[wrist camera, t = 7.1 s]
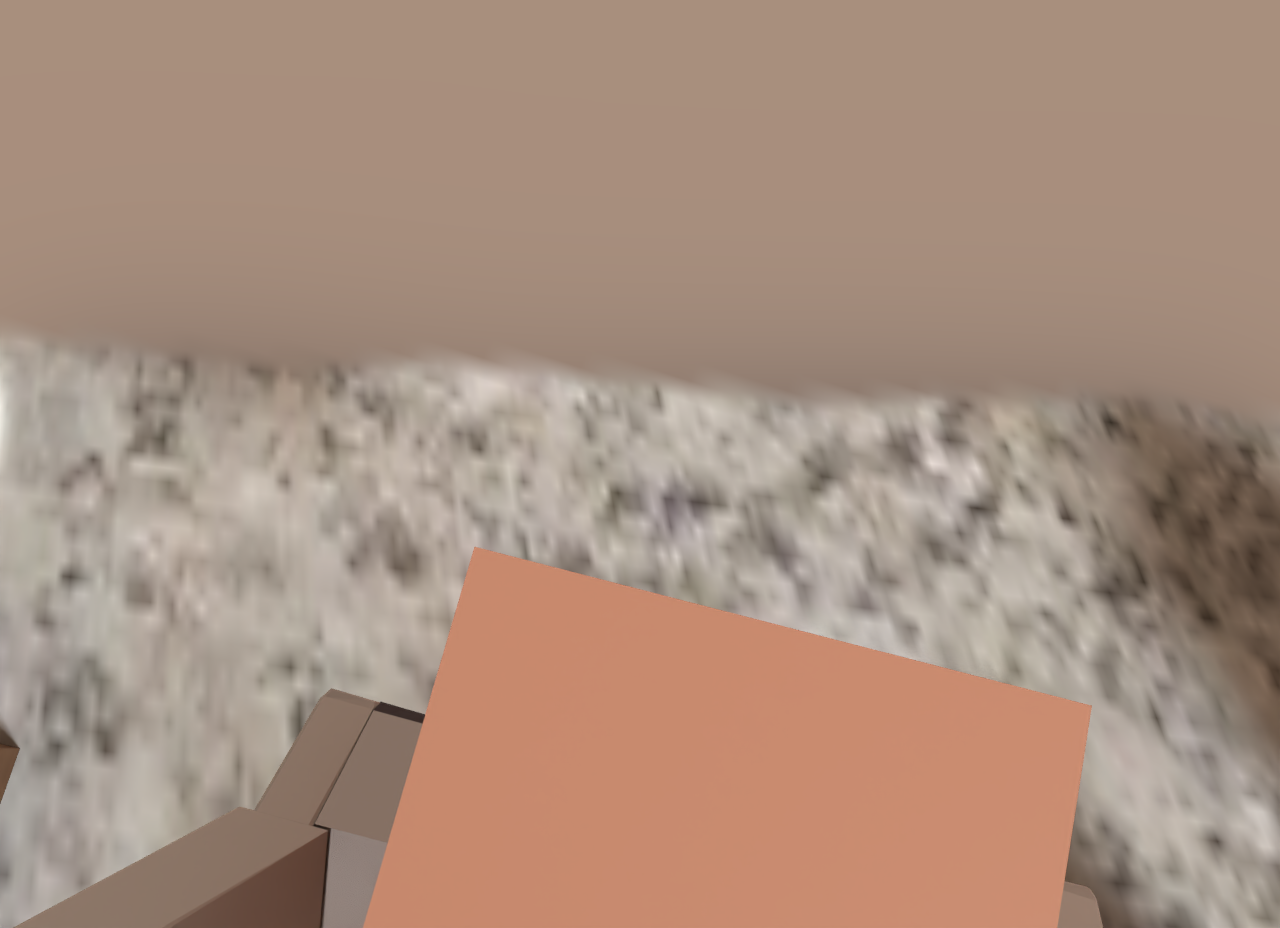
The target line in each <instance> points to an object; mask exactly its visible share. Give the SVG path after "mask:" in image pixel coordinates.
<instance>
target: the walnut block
mask: <svg viewBox="0 0 1280 928" xmlns="http://www.w3.org/2000/svg"><path fill="white" fill-rule="evenodd" d="M18 752H19V748H15V747H11V746H7V745H3V744H0V803H1V800H2V797H3V794H4V792H5V789H6V786H7V783H8V780H9V778H10V775H11V772H12V769H13V766H14V763H15V761H16V758H17V755H18Z"/></svg>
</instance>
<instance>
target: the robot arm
mask: <svg viewBox="0 0 1280 928" xmlns="http://www.w3.org/2000/svg"><path fill="white" fill-rule="evenodd" d="M424 718H425V714H422V713H418V712H415V711H411V710H408V709H404V708H401V707H398V706H394V705H391V704H387V703H384V702H376V701H373V700H369V699H366V698H363V697H359V696H356V695H352V694H349V693H345V692H342V691H339V690H335V689H332V688H331V689H330V690H329V691H328V692H327V693H326V694H325V695H323V696H322V697H321V698H320V699H319V701H318V703H317V704H316V706H315V708H314V709H313V711H312V713H311V715H310V716H309V718H308V720H307V721H306V723H305V725H304V726H303V728H302V730H301V732H300V733H299V735H298V737H297V738H296V740H295V742H294V743H293V745H292V747H291V749H290V750H289V752H288V754H287V755H286V757H285V759H284V760H283V762H282V764H281V766H280V767H279V769H278V771H277V772H276V774H275V776H274V777H273V779H272V781H271V783H270V784H269V786H268V788H267V789H266V791H265V793H264V794H263V796H262V798H261V800H260V801H259V803H258V805H257V806H256V808H255V810H251V809H247V808H243V807H238V808H236V809H234V810H232V811H230V812H228V813H226V814H225V815H223V816H221V817H219V818H217V819H215V820H213V821H212V822H210V823H208V824H206V825H204V826H202V827H200V828H198V829H197V830H195V831H193V832H191V833H189V834H187V835H185V836H184V837H182V838H180V839H178V840H176V841H174V842H172V843H170V844H169V845H167V846H165V847H163V848H161V849H159V850H157V851H156V852H154V853H152V854H150V855H148V856H146V857H144V858H142V859H141V860H139V861H137V862H135V863H133V864H131V865H129V866H128V867H126V868H124V869H122V870H120V871H118V872H116V873H114V874H113V875H111V876H109V877H107V878H105V879H103V880H101V881H100V882H98V883H96V884H94V885H92V886H90V887H88V888H86V889H85V890H83V891H81V892H79V893H77V894H75V895H73V896H72V897H70V898H68V899H66V900H64V901H62V902H60V903H58V904H57V905H55V906H53V907H51V908H49V909H47V910H45V911H44V912H42V913H40V914H38V915H36V916H34V917H32V918H31V919H29V920H27V921H25V922H23V923H21V924H19V925H17V926H16V927H14V928H363V925H364V922H365V919H366V915H367V912H368V908H369V905H370V902H371V898H372V895H373V891H374V888H375V885H376V881H377V878H378V874H379V871H380V867H381V864H382V861H383V857H384V854H385V850H386V847H387V844H388V840H389V837H390V833H391V830H392V827H393V823H394V820H395V816H396V813H397V810H398V806H399V803H400V799H401V796H402V793H403V789H404V786H405V782H406V779H407V775H408V772H409V769H410V765H411V762H412V758H413V755H414V752H415V748H416V745H417V741H418V738H419V735H420V731H421V728H422V724H423V721H424ZM1057 928H1103V925H1102V921H1101V916H1100V912H1099V908H1098V903H1097V899H1096V896H1095V895H1094V894H1093V892H1092V891H1091V889H1090V888H1089V887H1086V886H1082V885H1078V884H1074V883H1070V882H1067V881H1064V887H1063V894H1062V900H1061V907H1060V913H1059V919H1058V926H1057Z"/></svg>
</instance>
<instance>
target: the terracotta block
mask: <svg viewBox="0 0 1280 928" xmlns="http://www.w3.org/2000/svg"><path fill="white" fill-rule="evenodd" d="M1091 708H1092V706H1091V705H1087V704H1083V703H1079V702H1075V701H1071V700H1067V699H1063V698H1060V697H1056V696H1052V695H1048V694H1044V693H1040V692H1036V691H1032V690H1028V689H1025V688H1021V687H1017V686H1013V685H1009V684H1005V683H1001V682H997V681H994V680H990V679H986V678H982V677H978V676H974V675H970V674H966V673H962V672H959V671H955V670H951V669H947V668H943V667H939V666H935V665H931V664H928V663H924V662H920V661H916V660H912V659H908V658H904V657H900V656H896V655H893V654H889V653H885V652H881V651H877V650H873V649H869V648H865V647H862V646H858V645H854V644H850V643H846V642H842V641H838V640H834V639H830V638H827V637H823V636H819V635H815V634H811V633H807V632H803V631H799V630H796V629H792V628H788V627H784V626H780V625H776V624H772V623H768V622H764V621H761V620H757V619H753V618H749V617H745V616H741V615H737V614H733V613H730V612H726V611H722V610H718V609H714V608H710V607H706V606H702V605H698V604H695V603H691V602H687V601H683V600H679V599H675V598H671V597H667V596H664V595H660V594H656V593H652V592H648V591H644V590H640V589H636V588H632V587H629V586H625V585H621V584H617V583H613V582H609V581H605V580H601V579H598V578H594V577H590V576H586V575H582V574H578V573H574V572H570V571H566V570H563V569H559V568H555V567H551V566H547V565H543V564H539V563H535V562H532V561H528V560H524V559H520V558H516V557H512V556H508V555H504V554H501V553H497V552H493V551H489V550H485V549H481V548H477V547H474V551H473V554H472V557H471V561H470V564H469V568H468V571H467V574H466V578H465V581H464V585H463V588H462V591H461V595H460V598H459V602H458V605H457V609H456V612H455V615H454V619H453V622H452V626H451V629H450V632H449V636H448V639H447V643H446V646H445V649H444V653H443V656H442V660H441V663H440V666H439V670H438V673H437V677H436V680H435V683H434V687H433V690H432V694H431V697H430V701H429V704H428V707H427V711H426V714H425V718H424V721H423V724H422V728H421V731H420V735H419V738H418V741H417V745H416V748H415V752H414V755H413V758H412V762H411V765H410V769H409V772H408V775H407V779H406V782H405V786H404V789H403V793H402V796H401V799H400V803H399V806H398V810H397V813H396V816H395V820H394V823H393V827H392V830H391V833H390V837H389V840H388V844H387V847H386V850H385V854H384V857H383V861H382V864H381V867H380V871H379V874H378V878H377V881H376V885H375V888H374V891H373V895H372V898H371V902H370V905H369V908H368V912H367V915H366V919H365V922H364V925H363V928H1057V926H1058V919H1059V913H1060V907H1061V900H1062V894H1063V887H1064V881H1065V875H1066V868H1067V862H1068V855H1069V849H1070V843H1071V836H1072V830H1073V823H1074V817H1075V810H1076V804H1077V798H1078V791H1079V785H1080V778H1081V772H1082V766H1083V759H1084V753H1085V746H1086V740H1087V733H1088V727H1089V721H1090V714H1091Z"/></svg>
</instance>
